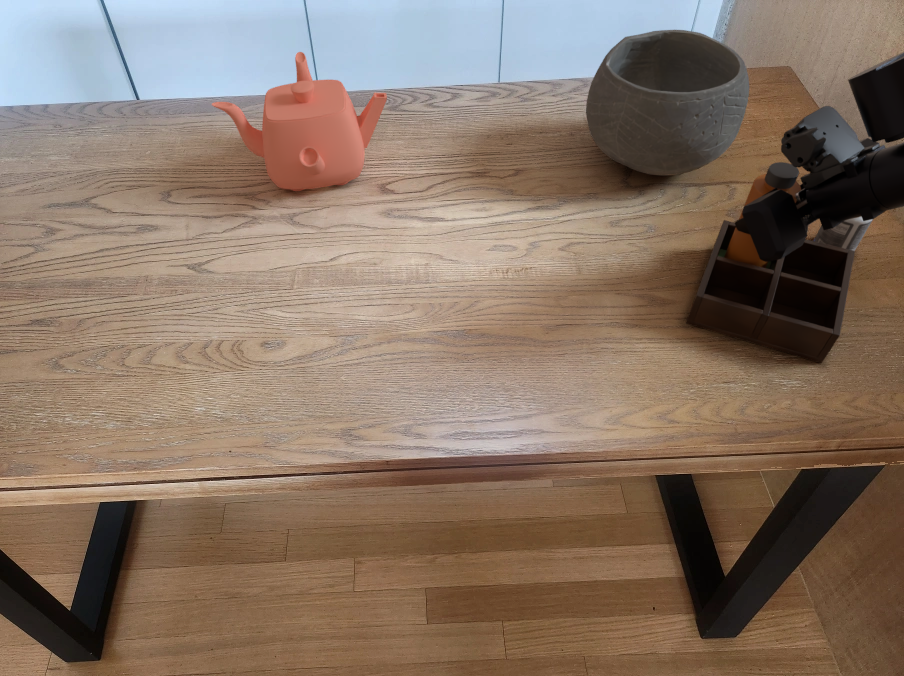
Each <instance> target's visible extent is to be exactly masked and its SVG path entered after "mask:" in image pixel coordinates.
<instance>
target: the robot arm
mask: <svg viewBox="0 0 904 676" xmlns="http://www.w3.org/2000/svg"><path fill="white" fill-rule="evenodd" d="M847 81H848V84H849V87H850V89H851V92H852V95H853V98H854V100H855V104H856V107H857V109H858V111H859V114H860V117H861V120H862V122H863V126H864V128H865V131H866V134H867V136H868V137H866V138H864V139H859V137H858V134H857V132H856V131H855V130H854V129H853V128H852V126H851V125H850V124H849V123H848V122H847V120H845V118H844V117H843V116H842V115H841V114H840V113H839V112H838V110H837V109H836V108H834V107H833V106H830V105H824V106H822V107H820V108H819V109H817V110H814V111H813V112H810V113H809V114H808V115H805V116H804V117H803V118H802V119H801V120H800V121H799V122H798V123H796V125H794V126H793V127H792V128H790V129H788V130H786V131H785V132H784V133H783V136H782V137H781V139H780V143H781V146H780V152H781V153H782V154H783V156H784V157H785V158H786V159H787V160H788V162H789V164H792V165H793V166H794V167H797V168H798V169H800V168H803V169H804V171H806V172H808V173H806V174H804V175H802V176H801V177H800V179H799V180H800V181H801V183H800V184H799V185H800V187H801V191H799V192H797V193H796V195H795V196H796V199H797V201H796V203H795V201H794V199H793V196H792V195H791V194H789V193H787V192H785V191H783V190H781V189H780V190H778V189H777V187H776V188H775V189H773V190H771V191H769V192H768V193H766V194H764V195H763V196H761V197H759V198H758V199H756V200H754V201H753V202H751V203H749V204H747V205H746V206H743V208H742V210H743V212H742V211H741V213H742V215H743V218H741V219H739V218H738V219H737V220H736V221H734V223H735V226H736V228H737V230H738V231H740V232H744V233H747V234H750V235H751V238H752V240H753V243H754V245H755V248H756V250H757V253H758V255H759V258H760V259H761V260H763V261H765V262H768V261H773V260H778V259H782V258H783V257H785V256H786V255H788V254H790V253H791V252H793V251H794V250H796V249H797V248H799V247H800V246H802V245H803V243H804V241H805V239H806V240H807V237H808V231H809V226H810V225H811V224H813V223H814V222H816V221H817V220H819V222H820V226H821V225H822V227H823V230H827V229H832V228H834V227H836V226H837V225H839V224H840V223H842V222H843V221H845V220H848V219H853V218H857V217H861V216H862V219H863V221H867V220H871V219H873V220H875V219H876V218H878V217H879V216H880V215H882V214H884V213H885V212H887V211H890V210H894V209H899V208H902V207H904V141H903V142H901V143H897V144H894V145H891V146H888V147H886V145H885V144H882V145H881V144H880V141H884V142H885V143H886V144H889V143H893V142H895V141H896V142H897V141H900V140H903V139H904V51H903V52H900V53H898V54H896V55H894V56H892V57H890V58H888V59H885V60H883V61H881V62H879V63H877V64H875V65H873V66H871V67H869V68H867V69H865V70H862V71H860V72H859V73H857V74H855V75H853V76H852V77H850V78H848V79H847Z"/></svg>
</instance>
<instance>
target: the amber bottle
mask: <svg viewBox="0 0 904 676" xmlns="http://www.w3.org/2000/svg"><path fill="white" fill-rule="evenodd" d="M799 175H800V169H799V168H798V167H794V166H793V165H792V164H791V163H790V162H785V161H777V162H774V163H772V164H770V165H769V167H768V168H767V171H766V173H763V174H761V175H758V176H757V177H755V179H754V180H753V183H752V184H751V188H750V190H749V193H748V195H747V198H746V200H745V202H744V206H746V205H747V204H749V203H751V202H753V201H754V200H756V199H758V198H759V197H761V196H763V195H764V194H766V193H768V192H769V191H771V190H773V189H775V188H776V187H777V189H778V190H780V189H781V190H783V191H785V192H787V193H789V194H791V195H792V196H793V199H794V201H795V203H796V201H797V199H796V196H795V195H796V193H797V192H799V191H801V187H800V185H801V184H800V183H799V182H798V181H797V180H798V177H799ZM744 206H743V207H744ZM742 212H743V209H742V210H741V213H740V216H739V218H738V220H739V219H741V218H743V215H742ZM724 258H728V259H732V260H736V261H740V262H744V263H747V264H751V265H755V266H759V267H763V268H766V266H767V263H768V262H765V261H763V260H761V259H760V258H759V255H758V253H757V250H756V248H755V245H754V243H753V240H752V238H751V235H750V234H747V233H744V232H740V231H738V230H737V228H735V230H734V233H733V236H732V238H731V241H730V243H729V246H728V248H727V251H726V253H725V256H724Z"/></svg>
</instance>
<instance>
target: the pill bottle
mask: <svg viewBox="0 0 904 676" xmlns="http://www.w3.org/2000/svg"><path fill="white" fill-rule="evenodd" d="M873 220H874V219H871V220H867V221H863V219H862V216H861V217H857V218H853V219H848V220H845V221H843V222H842V223H840V224H839V225H837V226H836V227H834V228H832V229H827V230H823V227H822V225H821V224H820V226H819V229H818V230H817V233H816V235H815V236H814V239H813V241H815V242H819V243H823V244H828V245H832V246H836V247H840V248H844V249H848V250H853V251H855V252H856V250H857V248H858V246H859V244H860V243H861V241H862V239H864V236H865V234H866V232H867V230H868V229H869V227H870V226H871V224H872V222H873Z"/></svg>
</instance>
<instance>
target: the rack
mask: <svg viewBox="0 0 904 676" xmlns="http://www.w3.org/2000/svg"><path fill="white" fill-rule="evenodd" d="M735 228H736V226H735V221H730V220H726V219H724V220H723V221H722V224H721V226H720V229H719V232H718V234H717V237H716V240H715V242H714V244H713V248H712V250H711V253H710V255H709V258H708V261H707V264H706V267H705V269H704V272H703V275H702V277H701V281H700V283H699V285H698V289H697V291H696V294H695V296H694V299H693V302H692V305H691V308H690V310H689V312H688V316H687V318H686V320H685V324H687V325H690V326H693V327H698V328H700V329H704V330H707V331H709V332H713V333H718V334H720V335H723V336H727V337H731V338H734V339H738V340H741V341H745V342H748V343H752V344H755V345H757V346H762V347H764V348H768V349H772V350H775V351H779V352H782V353H786V354H789V355H792V356H795V357H799V358H802V359H806V360H809V361H812V362H816V363H818V364H822V363H823V362H824V361H825V359H826V357H827V356H828V355H829V353H830V352H831V350H832V348H833V347H834V345H835V344H836V342H837V341H838V339H839V338H840V337H841V331H842V325H843V320H844V315H845V309H846V303H847V299H848V298H847V297H848V292H849V287H850V282H851V276H852V270H853V264H854V259H855V253H856V250H855V251H853V250H848V249H844V248H840V247H836V246H832V245H828V244H823V243H819V242H815V241H814V240H810V239H807V238H806V239H805V241H804V243H803V245H802V246H800V247H799V248H797V249H796V250H794V251H793V252H791V253H790V254H788V255H786V256H785V257H783V258H782V259H778V260H773V261H768V263H767V266H766V268H763V267H759V266H755V265H751V264H747V263H744V262H740V261H736V260H732V259H728V258H724V256H725V253H726V251H727V248H728V246H729V243H730V241H731V238H732V236H733V233H734V230H735Z"/></svg>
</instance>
